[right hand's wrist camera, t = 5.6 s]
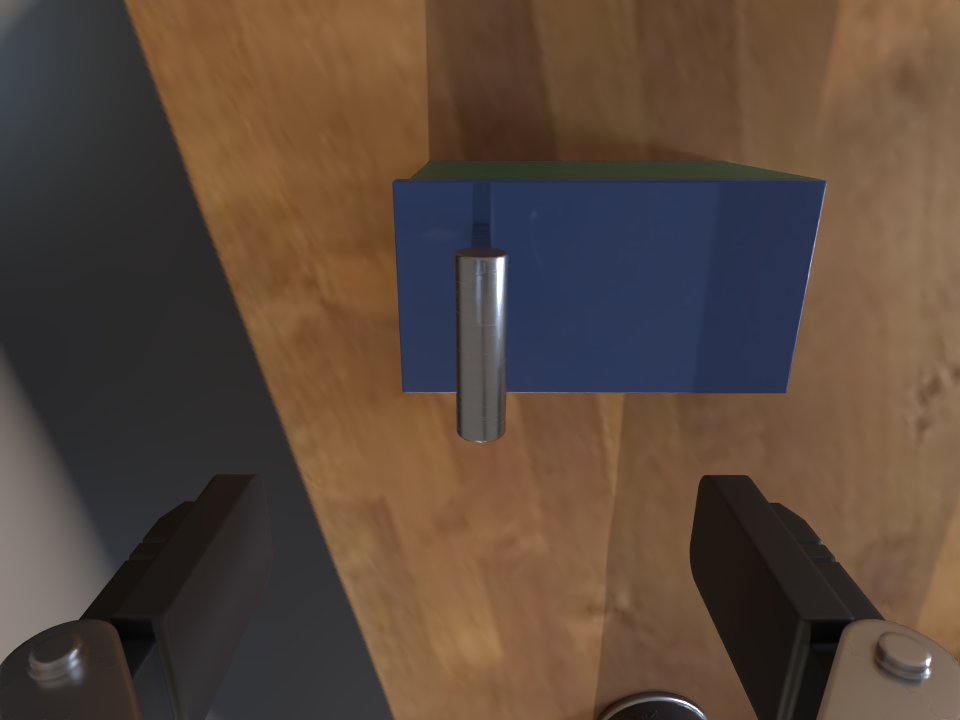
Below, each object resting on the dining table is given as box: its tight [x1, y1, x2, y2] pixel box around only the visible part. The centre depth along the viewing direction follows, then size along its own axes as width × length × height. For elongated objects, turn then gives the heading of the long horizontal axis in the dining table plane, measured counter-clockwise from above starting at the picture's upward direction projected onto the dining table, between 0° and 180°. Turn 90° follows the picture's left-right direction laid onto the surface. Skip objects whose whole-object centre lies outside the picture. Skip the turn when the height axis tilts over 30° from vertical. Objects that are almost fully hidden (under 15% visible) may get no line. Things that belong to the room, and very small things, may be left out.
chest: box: [410, 161, 814, 179], centre depth 32 cm, size 16×9×10 cm, turn 90°
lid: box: [393, 179, 827, 442], centre depth 23 cm, size 17×9×8 cm, turn 90°
